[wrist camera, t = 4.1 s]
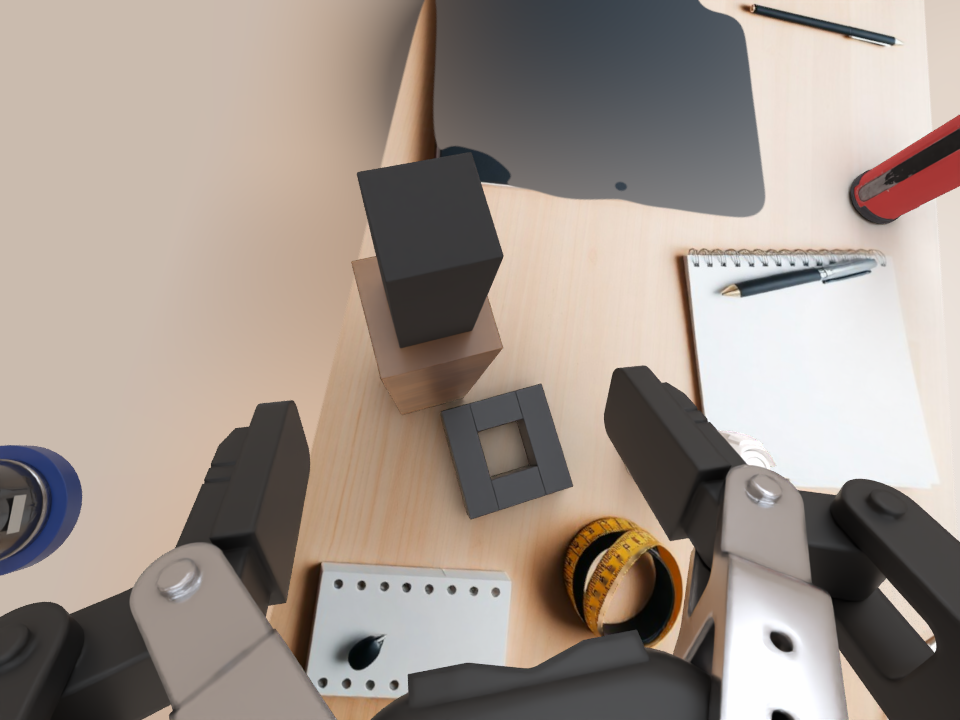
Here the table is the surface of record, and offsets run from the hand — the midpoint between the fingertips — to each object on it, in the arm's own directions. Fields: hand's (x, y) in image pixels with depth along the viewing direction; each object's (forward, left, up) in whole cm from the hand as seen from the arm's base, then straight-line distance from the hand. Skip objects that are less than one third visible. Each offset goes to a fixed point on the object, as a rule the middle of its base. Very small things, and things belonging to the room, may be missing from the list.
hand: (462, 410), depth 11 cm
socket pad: (+7, -3, -38) cm, 39 cm away
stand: (+1, +7, -38) cm, 39 cm away
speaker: (+67, +15, -38) cm, 79 cm away
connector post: (+1, +7, -13) cm, 15 cm away
